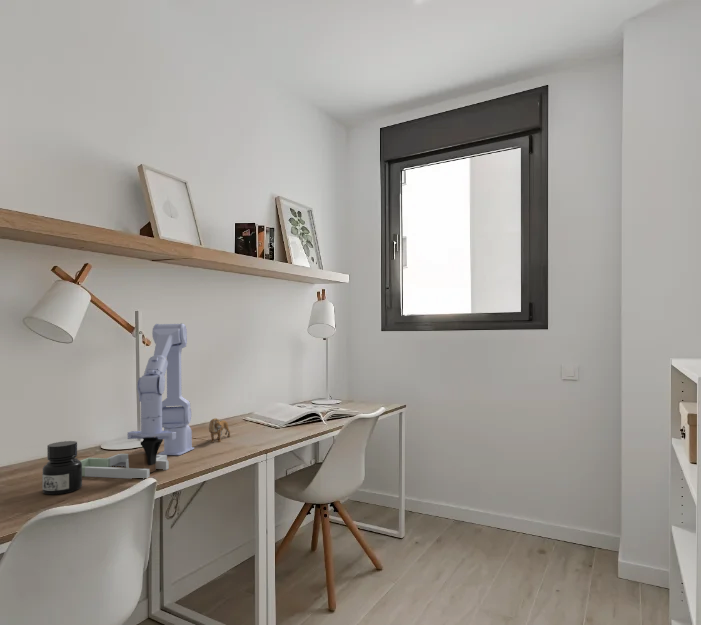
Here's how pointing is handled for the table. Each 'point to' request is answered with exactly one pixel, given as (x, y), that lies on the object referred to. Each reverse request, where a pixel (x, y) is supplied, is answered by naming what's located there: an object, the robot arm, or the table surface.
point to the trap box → (103, 469)
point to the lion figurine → (218, 428)
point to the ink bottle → (62, 469)
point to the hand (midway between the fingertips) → (151, 464)
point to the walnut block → (140, 461)
